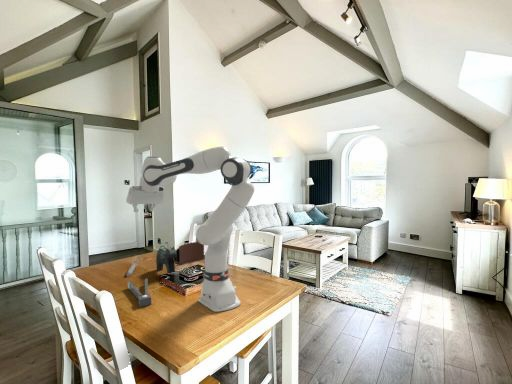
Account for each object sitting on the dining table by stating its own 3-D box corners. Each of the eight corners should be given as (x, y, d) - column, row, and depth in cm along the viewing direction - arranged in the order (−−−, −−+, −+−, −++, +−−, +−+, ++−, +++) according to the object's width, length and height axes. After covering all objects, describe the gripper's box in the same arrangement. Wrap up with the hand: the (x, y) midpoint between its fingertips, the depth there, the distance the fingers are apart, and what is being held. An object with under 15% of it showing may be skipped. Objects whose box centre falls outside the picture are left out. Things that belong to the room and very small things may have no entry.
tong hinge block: (151, 304, 124) (151, 296, 124) (139, 307, 122) (139, 299, 122) (149, 300, 128) (149, 293, 128) (138, 303, 126) (138, 295, 125)
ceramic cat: (177, 275, 164) (177, 243, 163) (168, 277, 159) (167, 245, 158) (162, 267, 177) (162, 238, 177) (153, 270, 173) (152, 240, 172)
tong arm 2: (148, 299, 128) (148, 293, 128) (145, 300, 128) (145, 294, 128) (147, 283, 149) (147, 278, 149) (144, 284, 148) (144, 278, 148)
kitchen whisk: (122, 278, 158) (121, 268, 158) (134, 262, 191) (133, 254, 191) (132, 277, 160) (132, 267, 160) (143, 261, 193) (142, 253, 192)
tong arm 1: (142, 300, 127) (142, 294, 127) (139, 301, 126) (139, 295, 126) (130, 286, 144) (130, 281, 144) (127, 287, 143) (127, 282, 143)
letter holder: (204, 259, 197) (204, 240, 197) (179, 265, 184) (179, 245, 183) (197, 256, 205) (197, 238, 204) (173, 261, 192) (173, 242, 191)
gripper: (133, 187, 128) (128, 214, 129) (167, 188, 145) (162, 212, 147) (126, 184, 131) (121, 210, 133) (160, 185, 148) (155, 209, 150)
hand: (143, 211), depth 140 cm, fingers open, 8 cm apart
